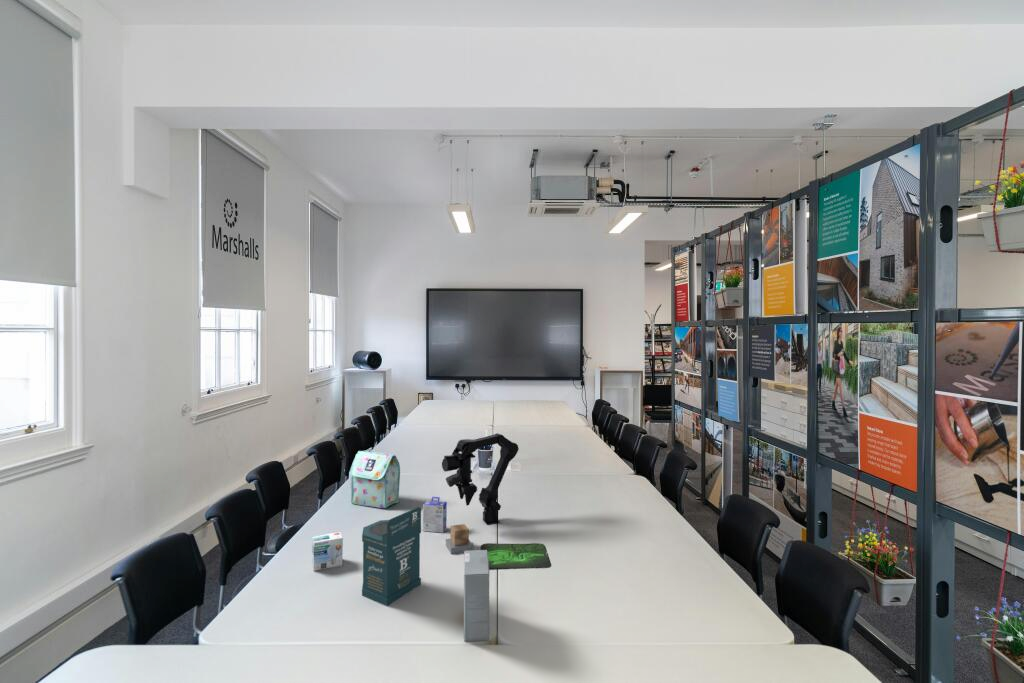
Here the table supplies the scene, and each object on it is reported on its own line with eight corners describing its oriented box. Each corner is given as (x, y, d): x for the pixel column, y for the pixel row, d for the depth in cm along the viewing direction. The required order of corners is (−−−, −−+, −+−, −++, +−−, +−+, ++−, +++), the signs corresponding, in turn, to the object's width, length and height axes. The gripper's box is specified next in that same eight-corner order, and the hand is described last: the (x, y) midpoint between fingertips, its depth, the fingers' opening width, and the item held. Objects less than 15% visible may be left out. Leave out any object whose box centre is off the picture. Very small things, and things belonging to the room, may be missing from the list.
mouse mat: (544, 544, 208) (544, 541, 208) (553, 568, 186) (553, 566, 186) (480, 545, 206) (480, 543, 206) (481, 570, 184) (481, 568, 184)
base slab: (466, 543, 208) (466, 536, 208) (472, 551, 200) (472, 544, 200) (445, 546, 205) (445, 539, 205) (451, 555, 197) (451, 548, 197)
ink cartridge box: (447, 528, 223) (447, 496, 223) (443, 533, 218) (443, 500, 217) (426, 526, 225) (426, 495, 224) (422, 531, 219) (422, 499, 219)
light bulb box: (313, 571, 182) (313, 542, 181) (311, 564, 188) (311, 536, 187) (343, 565, 187) (343, 537, 186) (340, 558, 193) (340, 531, 192)
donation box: (386, 606, 159) (387, 520, 159) (353, 592, 168) (353, 510, 167) (420, 584, 173) (421, 506, 172) (388, 572, 181) (388, 497, 181)
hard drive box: (464, 611, 156) (464, 549, 156) (487, 610, 157) (488, 549, 157) (463, 642, 141) (463, 573, 140) (489, 641, 141) (490, 572, 141)
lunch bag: (346, 505, 252) (346, 453, 251) (367, 495, 267) (367, 446, 266) (383, 511, 243) (383, 457, 242) (402, 501, 258) (403, 450, 258)
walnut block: (464, 538, 206) (464, 523, 206) (468, 543, 201) (468, 529, 201) (450, 540, 204) (450, 525, 204) (454, 545, 198) (454, 531, 198)
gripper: (442, 464, 228) (442, 497, 228) (453, 475, 211) (452, 511, 211) (465, 462, 232) (465, 494, 233) (477, 472, 215) (477, 508, 215)
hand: (464, 502), depth 223 cm, fingers open, 9 cm apart
